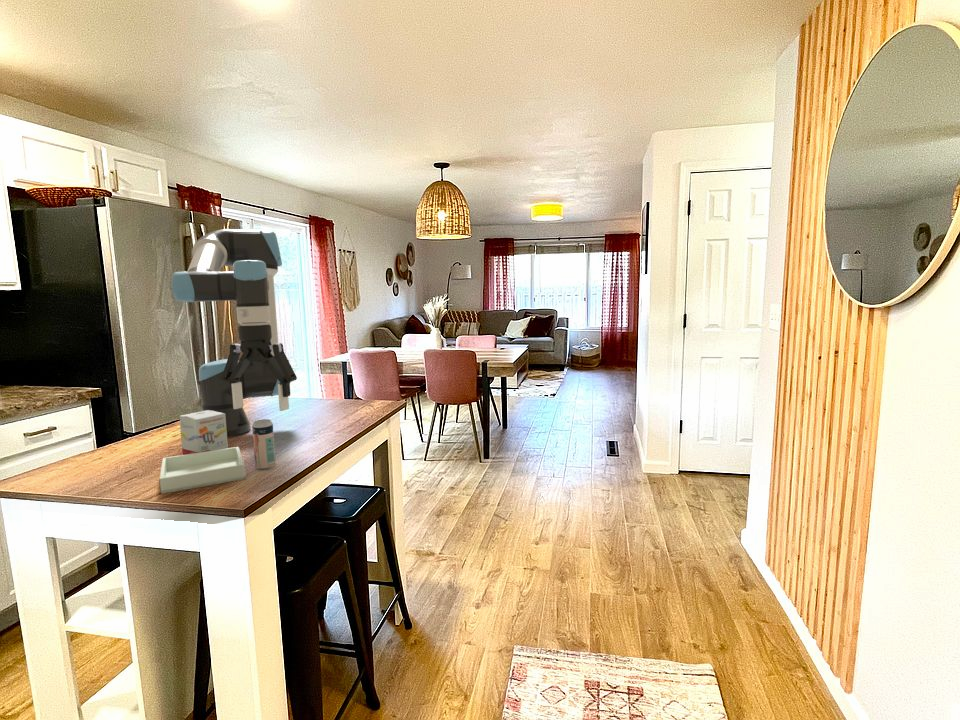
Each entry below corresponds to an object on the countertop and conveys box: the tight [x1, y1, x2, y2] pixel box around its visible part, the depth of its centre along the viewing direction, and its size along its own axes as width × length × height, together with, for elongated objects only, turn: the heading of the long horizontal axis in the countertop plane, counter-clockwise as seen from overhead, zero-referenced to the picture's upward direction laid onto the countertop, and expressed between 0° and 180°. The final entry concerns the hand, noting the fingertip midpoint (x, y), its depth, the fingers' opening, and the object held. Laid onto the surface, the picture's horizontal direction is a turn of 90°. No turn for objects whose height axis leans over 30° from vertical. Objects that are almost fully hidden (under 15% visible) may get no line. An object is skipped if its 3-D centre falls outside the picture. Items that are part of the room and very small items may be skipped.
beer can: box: [251, 418, 277, 470], centre depth 133 cm, size 5×5×12 cm
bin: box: [159, 446, 247, 495], centre depth 129 cm, size 17×17×4 cm
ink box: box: [179, 410, 229, 455], centre depth 144 cm, size 9×9×12 cm
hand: (261, 409), depth 131 cm, fingers open, 13 cm apart
